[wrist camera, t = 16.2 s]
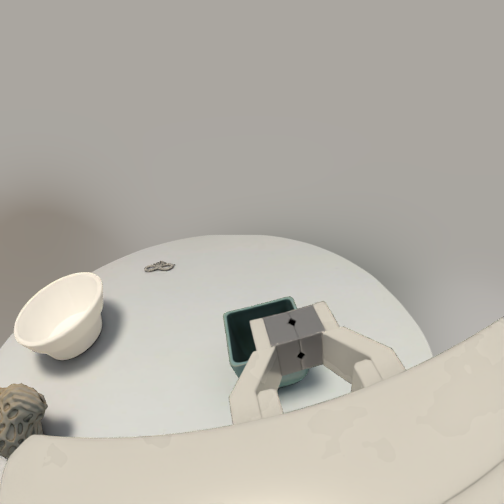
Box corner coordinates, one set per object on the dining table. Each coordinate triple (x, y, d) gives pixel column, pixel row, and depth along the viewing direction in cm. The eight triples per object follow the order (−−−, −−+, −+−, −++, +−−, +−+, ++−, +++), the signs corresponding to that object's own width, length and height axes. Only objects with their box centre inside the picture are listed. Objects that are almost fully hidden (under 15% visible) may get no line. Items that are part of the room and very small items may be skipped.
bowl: (27, 386, 38) (1, 355, 34) (46, 317, 56) (29, 289, 52) (120, 363, 42) (95, 327, 38) (122, 292, 60) (107, 260, 56)
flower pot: (237, 357, 41) (221, 311, 36) (297, 341, 41) (291, 294, 37) (246, 408, 33) (230, 367, 29) (316, 389, 34) (314, 345, 29)
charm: (141, 270, 65) (147, 261, 68) (142, 272, 65) (147, 263, 68) (171, 268, 63) (176, 259, 66) (172, 270, 64) (177, 261, 67)
